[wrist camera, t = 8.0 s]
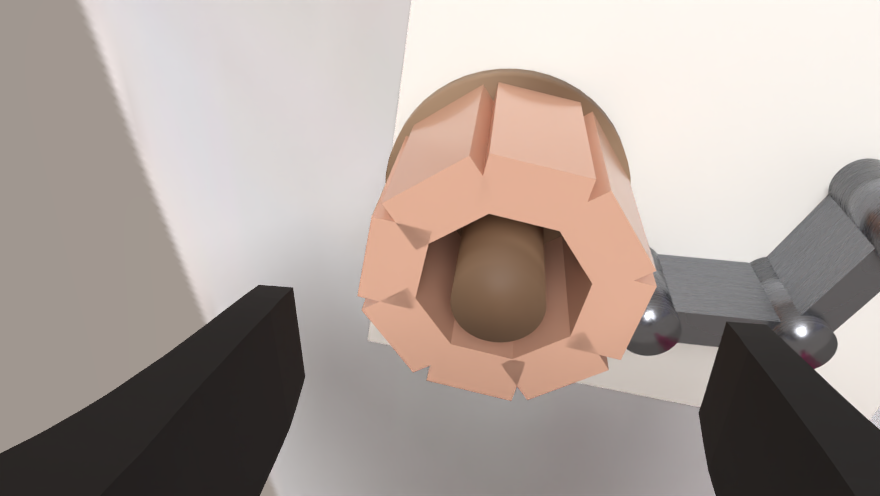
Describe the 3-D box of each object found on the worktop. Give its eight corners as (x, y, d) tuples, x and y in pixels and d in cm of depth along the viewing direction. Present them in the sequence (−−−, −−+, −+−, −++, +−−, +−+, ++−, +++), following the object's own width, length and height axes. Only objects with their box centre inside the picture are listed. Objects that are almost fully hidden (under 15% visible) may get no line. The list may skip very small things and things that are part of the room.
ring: (657, 121, 15) (697, 204, 11) (579, 309, 18) (591, 420, 14) (420, 62, 15) (387, 128, 11) (381, 261, 18) (345, 361, 14)
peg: (662, 95, 15) (716, 196, 11) (589, 301, 18) (608, 443, 14) (405, 46, 15) (356, 126, 11) (378, 259, 18) (331, 388, 14)
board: (1277, -195, 12) (1323, -198, 11) (844, 418, 20) (855, 438, 20) (461, -345, 12) (457, -357, 11) (372, 324, 21) (367, 341, 20)
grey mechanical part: (905, 164, 15) (975, 223, 13) (810, 323, 18) (854, 397, 15) (659, 117, 15) (683, 166, 13) (600, 282, 18) (610, 349, 15)
